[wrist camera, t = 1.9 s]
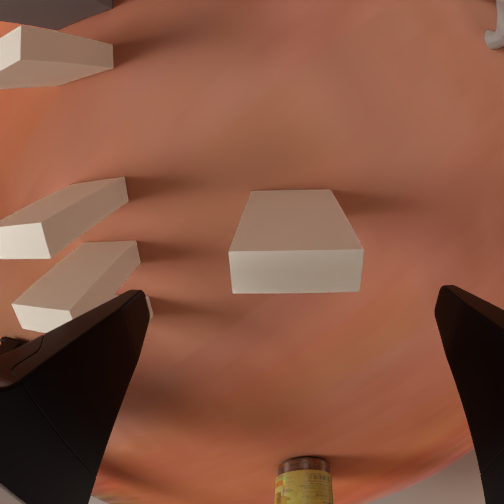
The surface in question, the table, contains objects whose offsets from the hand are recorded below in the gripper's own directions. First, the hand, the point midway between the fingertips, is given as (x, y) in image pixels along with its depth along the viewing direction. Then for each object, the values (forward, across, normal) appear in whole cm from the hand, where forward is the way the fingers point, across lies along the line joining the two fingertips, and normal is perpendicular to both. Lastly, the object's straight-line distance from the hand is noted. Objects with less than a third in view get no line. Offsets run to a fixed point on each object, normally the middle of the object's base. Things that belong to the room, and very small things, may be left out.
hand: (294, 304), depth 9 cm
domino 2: (+10, +12, +3) cm, 16 cm away
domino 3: (+10, +12, -1) cm, 16 cm away
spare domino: (+10, 0, 0) cm, 10 cm away
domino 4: (+10, +12, -10) cm, 18 cm away
